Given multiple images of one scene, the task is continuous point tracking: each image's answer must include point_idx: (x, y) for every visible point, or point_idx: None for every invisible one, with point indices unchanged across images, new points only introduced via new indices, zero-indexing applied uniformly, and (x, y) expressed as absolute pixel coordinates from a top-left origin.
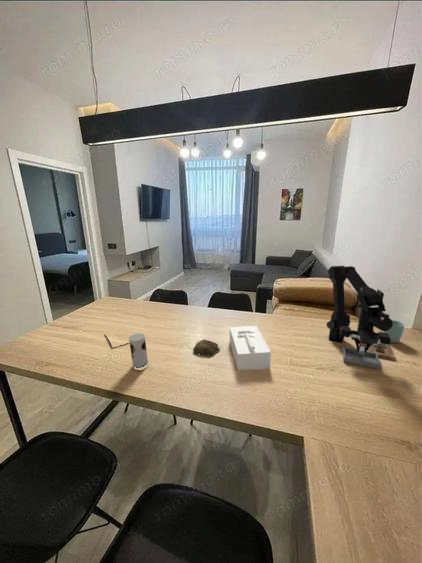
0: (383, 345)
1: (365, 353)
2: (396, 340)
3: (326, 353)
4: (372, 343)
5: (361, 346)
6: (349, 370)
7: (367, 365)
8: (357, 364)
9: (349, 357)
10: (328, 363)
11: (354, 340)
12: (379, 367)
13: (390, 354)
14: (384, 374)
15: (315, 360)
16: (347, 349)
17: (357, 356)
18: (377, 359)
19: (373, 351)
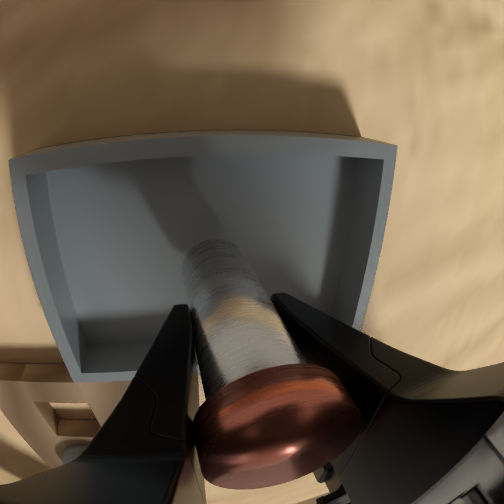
0: None
1: None
2: None
3: (443, 225)
4: (61, 485)
5: (283, 349)
6: (324, 15)
7: (142, 135)
8: (244, 131)
9: (310, 230)
10: (451, 88)
11: (497, 364)
12: (26, 154)
13: (10, 402)
14: (4, 94)
15: (497, 111)
16: None
17: None
18: (42, 272)
19: (109, 403)
